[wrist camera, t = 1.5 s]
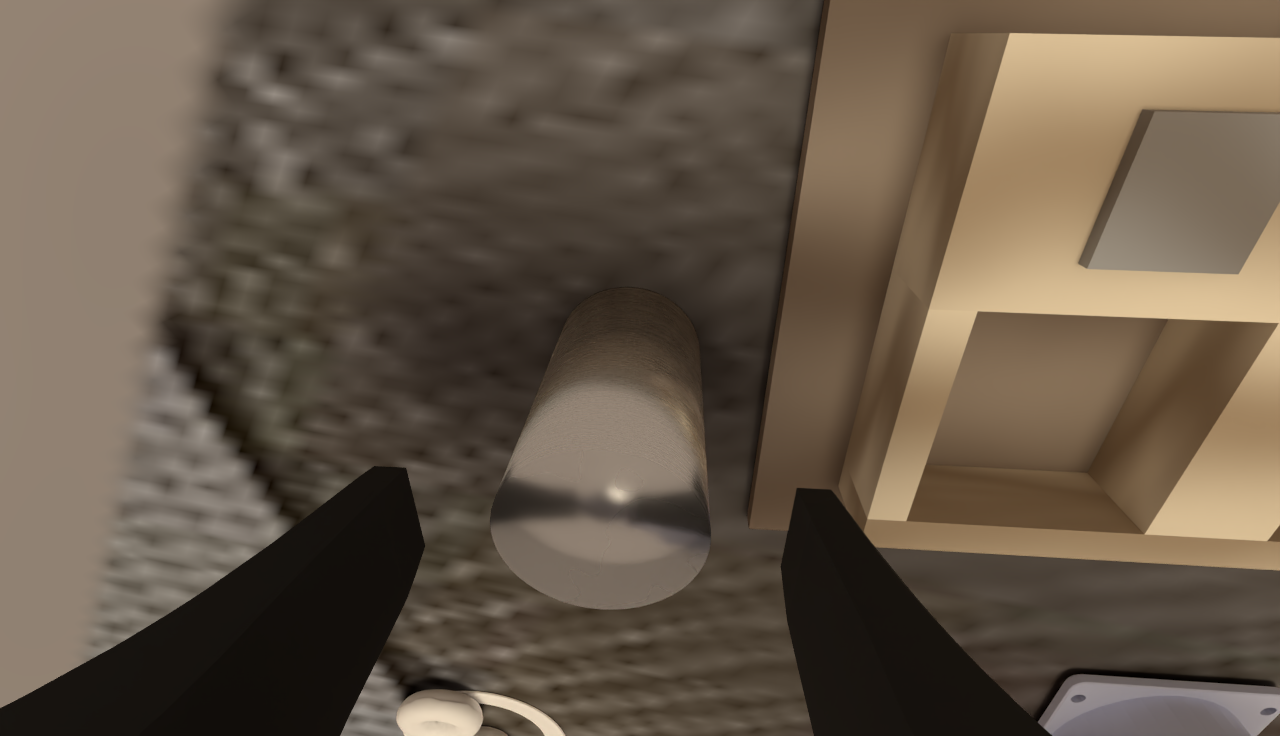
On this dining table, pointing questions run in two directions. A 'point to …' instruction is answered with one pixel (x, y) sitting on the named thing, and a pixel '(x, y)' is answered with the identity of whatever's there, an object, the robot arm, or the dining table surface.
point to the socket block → (1036, 281)
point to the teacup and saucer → (462, 714)
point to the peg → (611, 460)
